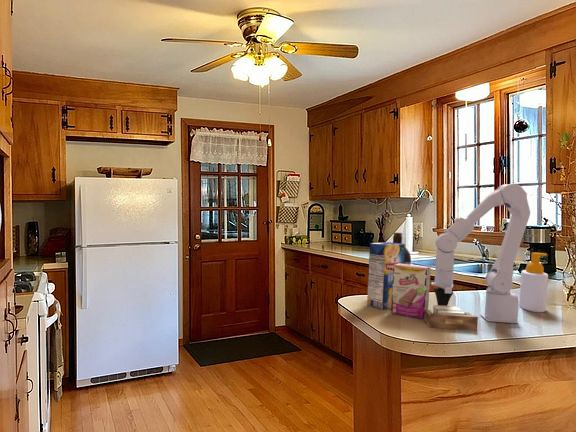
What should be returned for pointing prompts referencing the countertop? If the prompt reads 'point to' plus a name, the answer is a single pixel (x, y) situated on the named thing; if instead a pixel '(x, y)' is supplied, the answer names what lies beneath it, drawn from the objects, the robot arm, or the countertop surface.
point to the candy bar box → (410, 290)
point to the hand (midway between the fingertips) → (442, 310)
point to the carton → (447, 310)
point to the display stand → (451, 321)
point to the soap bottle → (534, 285)
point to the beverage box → (383, 272)
